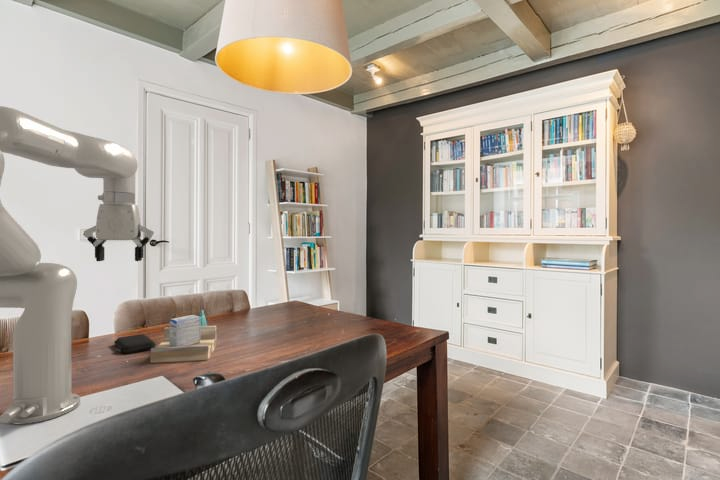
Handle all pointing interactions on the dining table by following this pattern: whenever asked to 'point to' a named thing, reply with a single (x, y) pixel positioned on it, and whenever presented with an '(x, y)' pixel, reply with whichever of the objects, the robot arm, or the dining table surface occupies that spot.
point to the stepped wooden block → (185, 347)
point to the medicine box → (184, 331)
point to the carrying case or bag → (134, 344)
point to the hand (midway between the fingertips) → (119, 260)
